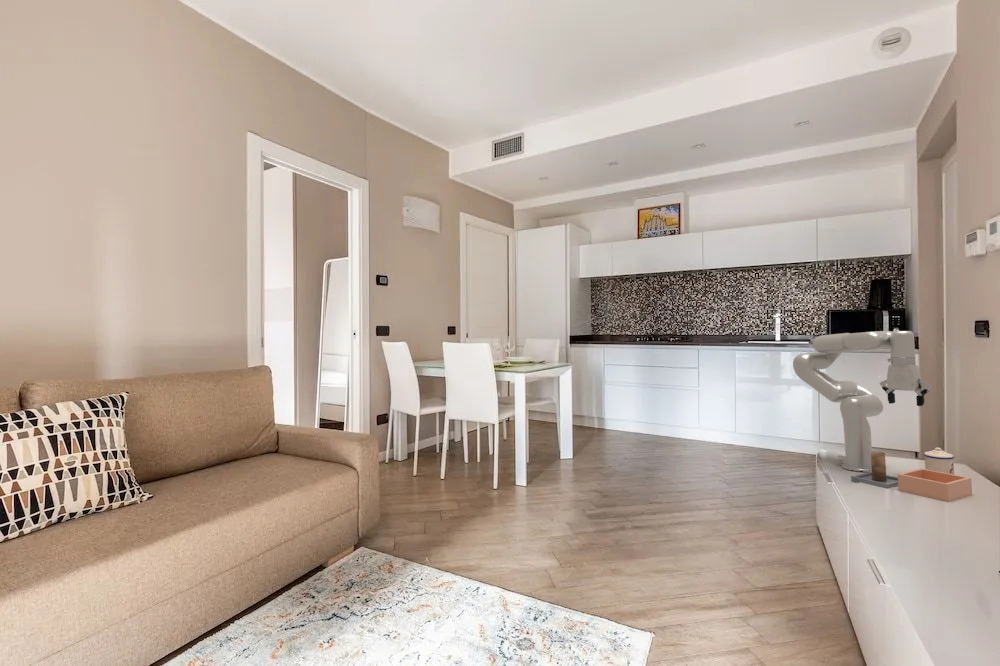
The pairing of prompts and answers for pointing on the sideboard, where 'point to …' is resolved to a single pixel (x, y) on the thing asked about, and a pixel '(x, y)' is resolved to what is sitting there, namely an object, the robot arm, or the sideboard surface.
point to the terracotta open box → (935, 484)
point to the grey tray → (867, 479)
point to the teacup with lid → (939, 461)
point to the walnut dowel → (878, 466)
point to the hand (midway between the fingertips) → (905, 404)
